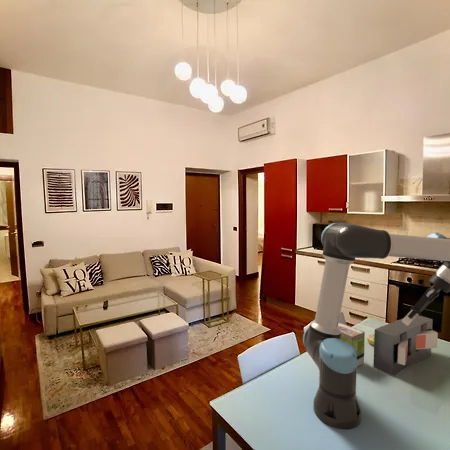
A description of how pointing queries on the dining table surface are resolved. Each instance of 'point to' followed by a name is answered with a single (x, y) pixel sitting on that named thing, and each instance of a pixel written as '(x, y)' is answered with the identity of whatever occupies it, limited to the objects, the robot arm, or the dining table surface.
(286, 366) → the dining table surface
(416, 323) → the grey panel with openings
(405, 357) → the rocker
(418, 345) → the rocker
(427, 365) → the dining table surface
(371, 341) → the decorated donut
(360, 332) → the tea box
